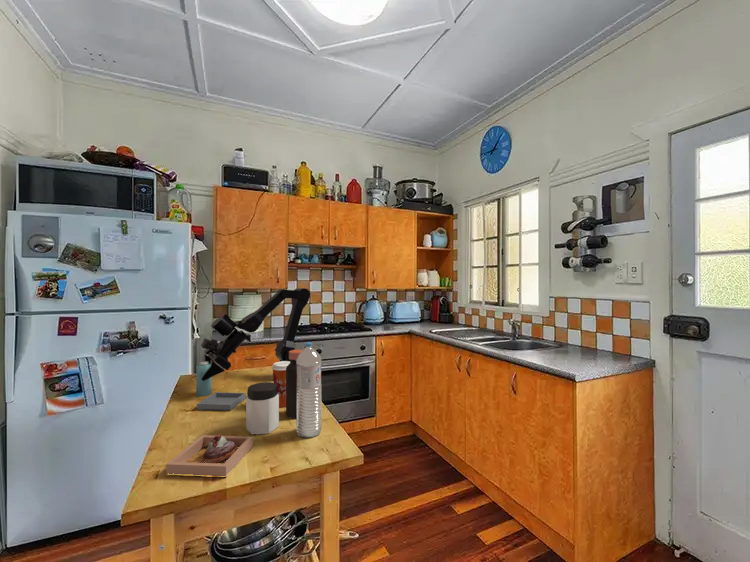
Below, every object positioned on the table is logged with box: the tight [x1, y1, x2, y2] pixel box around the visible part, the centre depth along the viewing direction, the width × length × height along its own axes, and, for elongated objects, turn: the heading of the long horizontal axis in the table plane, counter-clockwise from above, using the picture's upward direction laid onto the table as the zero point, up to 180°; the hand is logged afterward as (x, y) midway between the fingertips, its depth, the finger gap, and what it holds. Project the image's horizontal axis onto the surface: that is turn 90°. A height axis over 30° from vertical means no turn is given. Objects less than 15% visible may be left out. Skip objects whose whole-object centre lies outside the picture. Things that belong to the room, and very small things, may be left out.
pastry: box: [202, 433, 238, 464], centre depth 80 cm, size 8×8×5 cm
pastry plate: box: [165, 434, 254, 476], centre depth 78 cm, size 13×13×2 cm
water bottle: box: [295, 341, 322, 439], centre depth 92 cm, size 7×7×25 cm
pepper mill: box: [195, 360, 213, 397], centre depth 123 cm, size 5×5×12 cm
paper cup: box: [271, 361, 290, 409], centre depth 113 cm, size 8×8×14 cm
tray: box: [196, 391, 247, 412], centre depth 113 cm, size 11×11×2 cm
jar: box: [245, 381, 280, 436], centre depth 95 cm, size 9×8×12 cm
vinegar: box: [285, 349, 304, 420], centre depth 104 cm, size 7×7×20 cm
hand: (199, 377), depth 122 cm, fingers open, 9 cm apart
